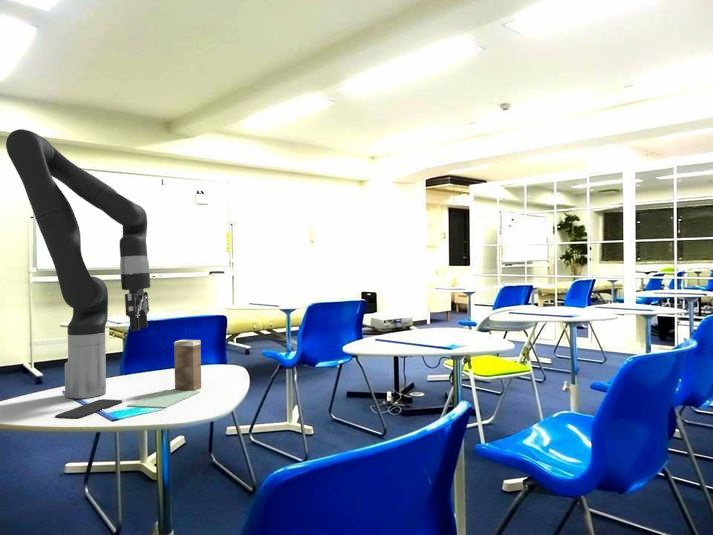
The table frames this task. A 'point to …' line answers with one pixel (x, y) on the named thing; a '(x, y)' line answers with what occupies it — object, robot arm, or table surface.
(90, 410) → the phone
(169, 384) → the table surface
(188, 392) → the green mat
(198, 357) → the walnut block
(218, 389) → the table surface
